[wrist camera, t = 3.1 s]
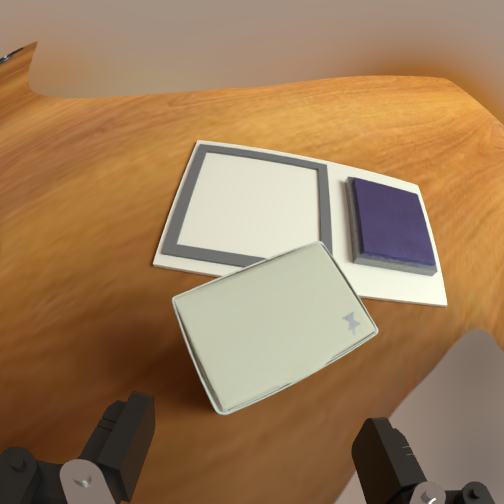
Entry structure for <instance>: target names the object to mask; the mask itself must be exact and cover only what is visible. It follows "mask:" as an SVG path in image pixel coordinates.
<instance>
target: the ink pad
mask: <svg viewBox="0 0 504 504" xmlns="http://www.w3.org/2000/svg"><path fill="white" fill-rule="evenodd" d="M345 189H346V196H347V205H348V214H349V223H350V234H351V245H352V258H353V263H354V264H360V265H366V266H372V267H378V268H384V269H390V270H397V271H403V272H409V273H415V274H421V275H427V276H433V275H434V274H435V273H436V272H438V271H437V266H436V261H435V257H434V252H433V248H432V244H431V240H430V236H429V232H428V228H427V224H426V221H425V217H424V214H423V210H422V207H421V204H420V200H419V197H418V195H417V194H416V193H412V192H409V191H405V190H402V189H398V188H395V187H391V186H387V185H384V184H380V183H376V182H372V181H368V180H364V179H360V178H356V177H349V176H348V177H347V179H346V181H345Z"/></svg>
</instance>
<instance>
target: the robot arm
mask: <svg viewBox="0 0 504 504" xmlns="http://www.w3.org/2000/svg"><path fill="white" fill-rule="evenodd" d="M154 430H155V409H154V397H153V396H151V395H147V394H143V393H140V392H136V391H133V392H132V394H131V395H130V397H129V399H128V401H127V403H126V402H122V401H119V400H117V401H116V402H115V403H113V404H112V405H110V406H109V407H107V409H106V411H105V413H104V414H103V416H102V419H100V421H99V423H98V425H97V427H96V428H95V430H94V432H93V433H92V435H91V437H90V439H89V440H88V442H87V444H86V446H85V447H84V449H83V451H82V453H81V455H80V456H79V457H78V458H77V459H75V460H71V461H68V462H67V463H65V464H53V463H47V462H42V461H37V460H35V458H34V456H33V455H32V454H31V453H30V452H29V451H27V450H26V449H23V448H20V447H12V448H8V449H6V450H5V451H4V452H3V453H2V454H1V456H0V504H120V502H121V500H123V501H126V502H130V501H131V498H132V495H133V492H134V489H135V486H136V484H137V481H138V478H139V475H140V472H141V469H142V466H143V464H144V461H145V458H146V455H147V452H148V449H149V447H150V444H151V441H152V438H153V435H154ZM352 458H353V461H354V464H355V467H356V470H357V474H358V477H359V480H360V483H361V487H362V490H363V493H364V496H365V500H366V503H367V504H495V503H494V501H493V499H492V497H491V495H490V493H489V491H488V490H487V487H486V486H485V485H483V484H482V483H480V482H470V483H468V484H466V485H465V487H464V488H463V489H462V490H455V491H444V489H443V488H442V487H441V486H440V485H439V484H437V483H434V482H428V481H427V480H426V478H425V476H424V474H423V472H422V470H421V467H420V466H419V463H418V462H417V460H416V458H415V456H414V455H413V452H412V450H411V448H410V447H409V444H408V442H407V440H406V438H405V436H404V435H403V434H402V433H400V432H399V431H398V430H397V429H393V428H392V426H391V424H390V422H389V420H388V419H387V418H386V417H381V418H368V419H367V420H366V421H365V422H364V424H363V426H362V428H361V430H360V432H359V433H358V435H357V437H356V439H355V441H354V442H353V445H352Z"/></svg>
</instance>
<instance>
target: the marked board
mask: <svg viewBox="0 0 504 504" xmlns="http://www.w3.org/2000/svg"><path fill="white" fill-rule="evenodd" d="M348 176H349V177H356V178H360V179H364V180H368V181H372V182H376V183H380V184H384V185H387V186H391V187H395V188H398V189H402V190H405V191H409V192H412V193H416V194H417V195H418V197H419V200H420V204H421V207H422V210H423V214H424V217H425V221H426V224H427V228H428V232H429V236H430V240H431V244H432V248H433V252H434V257H435V261H436V266H437V271H438V272H436V273H435V274H434V275H433V276H427V275H421V274H415V273H409V272H403V271H397V270H390V269H384V268H378V267H372V266H366V265H360V264H354V263H353V258H352V245H351V234H350V223H349V214H348V205H347V196H346V189H345V181H346V179H347V177H348ZM315 241H322V242H323V243H324V245H325V246H326V248H327V249H328V251H329V252H330V254H331V255H332V256H333V257H334V259H335V260H336V262H337V263H338V264H339V266H340V268H341V269H342V271H343V272H344V274H345V275H346V277H347V278H348V280H349V282H350V283H351V285H352V287H353V288H354V290H355V291H356V293H357V294H358V296H359V298H367V299H376V300H384V301H393V302H402V303H411V304H420V305H430V306H440V307H446V306H447V300H446V294H445V288H444V283H443V278H442V273H441V268H440V263H439V259H438V254H437V250H436V246H435V242H434V238H433V234H432V230H431V227H430V223H429V220H428V216H427V213H426V209H425V206H424V203H423V200H422V196H421V193H420V190H419V187H418V185H415V184H412V183H409V182H406V181H402V180H399V179H395V178H392V177H388V176H385V175H381V174H377V173H374V172H370V171H366V170H362V169H358V168H354V167H350V166H346V165H342V164H337V163H333V162H328V161H324V160H319V159H315V158H310V157H305V156H300V155H295V154H289V153H284V152H278V151H273V150H267V149H261V148H254V147H248V146H241V145H234V144H226V143H219V142H210V141H202V140H198V141H197V143H196V146H195V148H194V150H193V153H192V155H191V158H190V160H189V163H188V165H187V168H186V170H185V173H184V175H183V178H182V181H181V183H180V186H179V189H178V191H177V194H176V197H175V199H174V202H173V205H172V208H171V210H170V213H169V216H168V219H167V222H166V225H165V228H164V231H163V234H162V237H161V240H160V243H159V246H158V249H157V252H156V255H155V258H154V261H153V266H154V267H160V268H165V269H171V270H177V271H183V272H189V273H194V274H200V275H207V276H213V277H222V276H224V275H227V274H229V273H232V272H234V271H237V270H239V269H242V268H244V267H247V266H249V265H252V264H254V263H257V262H260V261H262V260H264V259H267V258H270V257H272V256H275V255H277V254H280V253H283V252H286V251H289V250H291V249H294V248H297V247H300V246H303V245H306V244H310V243H312V242H315Z"/></svg>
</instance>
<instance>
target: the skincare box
mask: <svg viewBox="0 0 504 504" xmlns="http://www.w3.org/2000/svg"><path fill="white" fill-rule="evenodd" d="M172 305H173V308H174V311H175V314H176V317H177V320H178V323H179V326H180V329H181V332H182V335H183V338H184V340H185V343H186V346H187V349H188V351H189V354H190V356H191V359H192V361H193V364H194V366H195V369H196V371H197V373H198V376H199V378H200V380H201V382H202V384H203V387H204V389H205V391H206V393H207V395H208V397H209V400H210V402H211V404H212V406H213V408H214V410H215V412H216V413H218V414H219V415H228V414H230V413H233V412H235V411H238V410H240V409H242V408H245V407H247V406H249V405H252V404H254V403H256V402H258V401H260V400H262V399H265V398H267V397H269V396H271V395H273V394H275V393H277V392H279V391H281V390H283V389H285V388H287V387H289V386H291V385H293V384H295V383H297V382H299V381H300V380H302V379H304V378H306V377H308V376H310V375H311V374H313V373H315V372H317V371H318V370H320V369H322V368H324V367H325V366H327V365H329V364H331V363H332V362H334V361H336V360H337V359H339V358H341V357H342V356H344V355H346V354H347V353H349V352H351V351H352V350H354V349H355V348H357V347H358V346H360V345H361V344H363V343H365V342H366V341H368V340H369V339H371V338H372V337H374V336H375V335H376V334H377V333H378V329H377V327H376V325H375V323H374V321H373V320H372V318H371V317H370V315H369V313H368V311H367V309H366V308H365V306H364V305H363V303H362V301H361V299H360V298H359V296H358V294H357V293H356V291H355V290H354V288H353V287H352V285H351V283H350V282H349V280H348V278H347V277H346V275H345V274H344V272H343V271H342V269H341V268H340V266H339V264H338V263H337V262H336V260H335V259H334V257H333V256H332V255H331V254H330V252H329V251H328V249H327V248H326V246H325V245H324V243H323V242H322V241H315V242H312V243H310V244H306V245H303V246H300V247H297V248H294V249H291V250H289V251H286V252H283V253H280V254H277V255H275V256H272V257H270V258H267V259H264V260H262V261H260V262H257V263H254V264H252V265H249V266H247V267H244V268H242V269H239V270H237V271H234V272H232V273H229V274H227V275H224V276H222V277H219V278H217V279H214V280H212V281H210V282H207V283H205V284H203V285H200V286H198V287H195V288H193V289H191V290H189V291H186V292H184V293H181V294H179V295H176V296H174V297H173V298H172Z"/></svg>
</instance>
